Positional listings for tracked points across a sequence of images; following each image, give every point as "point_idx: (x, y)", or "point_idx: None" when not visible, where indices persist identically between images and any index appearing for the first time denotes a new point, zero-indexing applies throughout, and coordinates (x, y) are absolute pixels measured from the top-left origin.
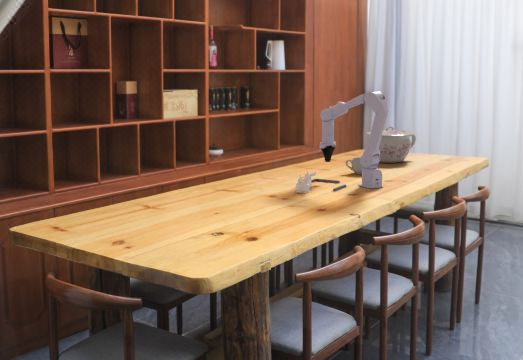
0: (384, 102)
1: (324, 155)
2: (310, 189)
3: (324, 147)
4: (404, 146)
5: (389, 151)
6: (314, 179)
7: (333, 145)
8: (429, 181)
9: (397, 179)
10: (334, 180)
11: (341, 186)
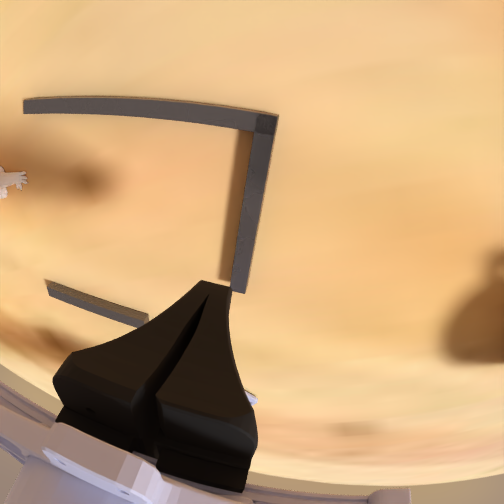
0: None
1: (159, 323)
2: (21, 189)
3: (27, 408)
4: None
5: None
6: (228, 120)
7: (338, 501)
8: (358, 479)
9: (390, 441)
10: (241, 263)
11: (100, 313)
